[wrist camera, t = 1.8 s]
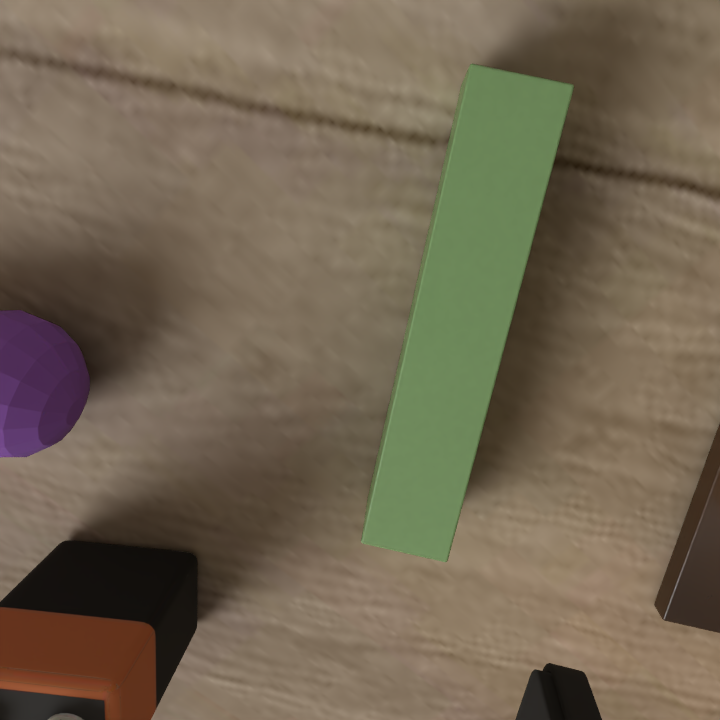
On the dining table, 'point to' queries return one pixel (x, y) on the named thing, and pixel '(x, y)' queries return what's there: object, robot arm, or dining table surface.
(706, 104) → the dining table surface
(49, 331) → the kendama
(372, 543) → the green bar
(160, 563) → the battery
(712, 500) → the rod stand
